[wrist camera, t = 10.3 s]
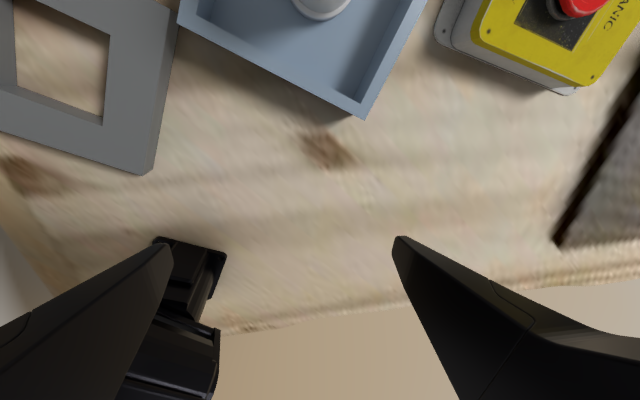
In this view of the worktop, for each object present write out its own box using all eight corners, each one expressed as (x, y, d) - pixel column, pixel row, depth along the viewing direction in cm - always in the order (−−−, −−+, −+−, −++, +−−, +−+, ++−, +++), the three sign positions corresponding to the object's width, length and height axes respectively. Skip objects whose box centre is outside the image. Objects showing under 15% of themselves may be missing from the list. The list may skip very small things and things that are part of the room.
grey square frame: (152, 169, 18) (142, 176, 17) (-34, 107, 15) (-65, 110, 14) (181, 15, 14) (170, 9, 13) (-65, -115, 11) (-113, -142, 10)
